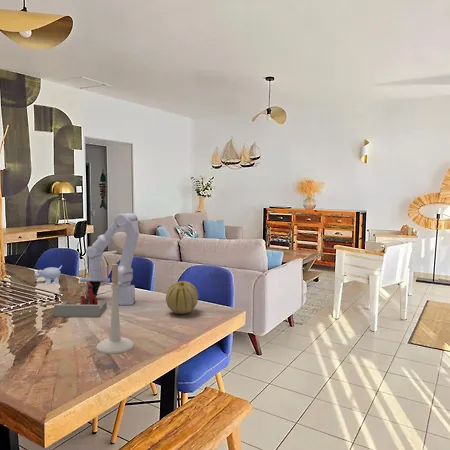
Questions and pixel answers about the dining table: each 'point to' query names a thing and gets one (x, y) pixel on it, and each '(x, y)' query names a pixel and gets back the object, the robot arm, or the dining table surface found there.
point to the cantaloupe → (182, 297)
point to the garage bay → (78, 310)
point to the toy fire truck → (89, 296)
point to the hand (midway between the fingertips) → (95, 296)
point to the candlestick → (115, 324)
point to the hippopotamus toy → (49, 274)
